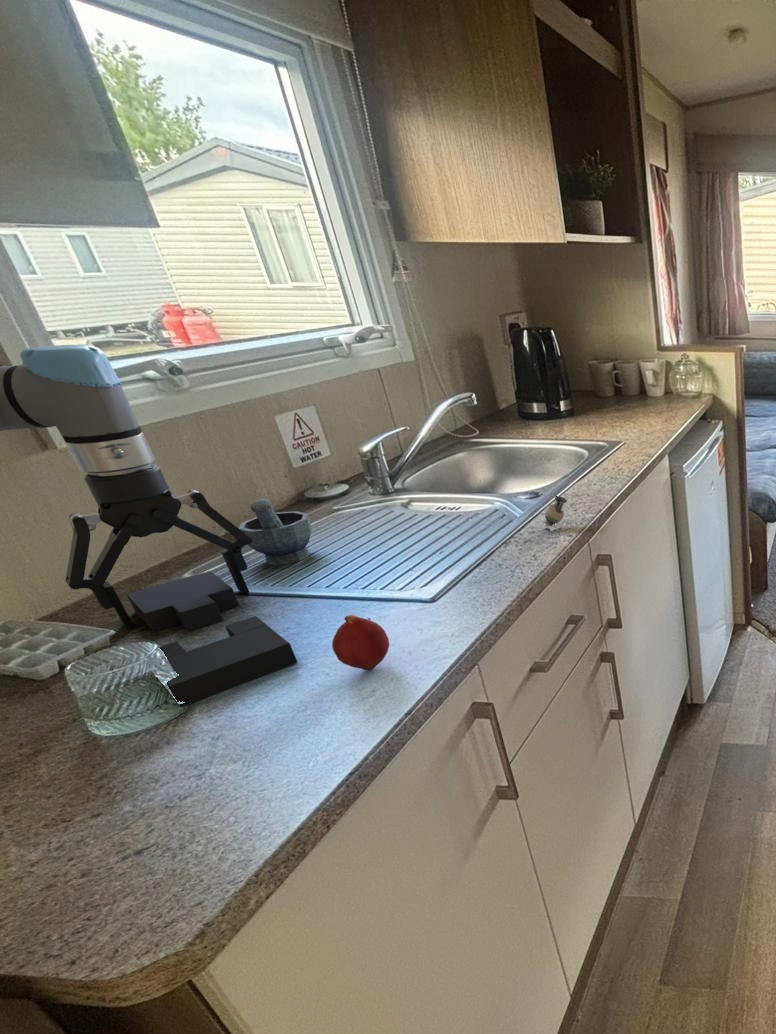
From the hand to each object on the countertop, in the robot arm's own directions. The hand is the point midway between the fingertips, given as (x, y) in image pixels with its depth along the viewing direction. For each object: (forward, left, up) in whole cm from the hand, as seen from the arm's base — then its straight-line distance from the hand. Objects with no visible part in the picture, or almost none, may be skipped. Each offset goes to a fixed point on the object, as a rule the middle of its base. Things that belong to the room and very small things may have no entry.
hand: (189, 607), depth 98 cm
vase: (+15, +54, 0) cm, 56 cm away
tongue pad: (+2, 0, 0) cm, 2 cm away
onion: (+39, +9, 0) cm, 40 cm away
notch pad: (+24, -2, 0) cm, 24 cm away
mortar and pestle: (-9, +16, 0) cm, 18 cm away
